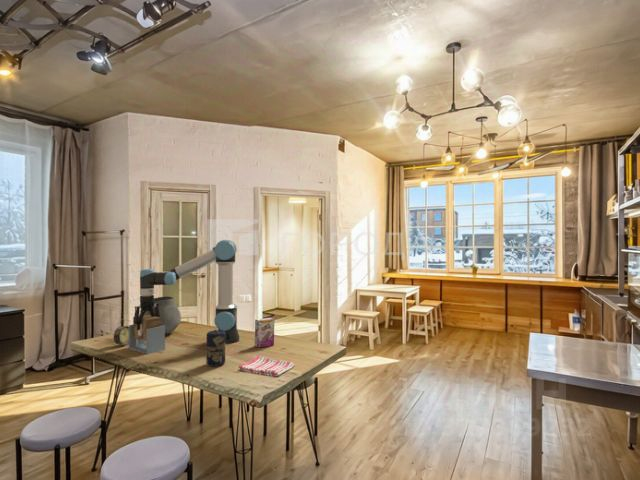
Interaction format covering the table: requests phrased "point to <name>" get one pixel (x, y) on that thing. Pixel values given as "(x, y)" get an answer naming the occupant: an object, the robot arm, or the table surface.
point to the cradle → (148, 340)
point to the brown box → (146, 325)
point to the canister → (215, 348)
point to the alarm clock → (121, 335)
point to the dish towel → (266, 366)
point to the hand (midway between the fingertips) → (146, 333)
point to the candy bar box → (264, 332)
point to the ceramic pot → (167, 313)
